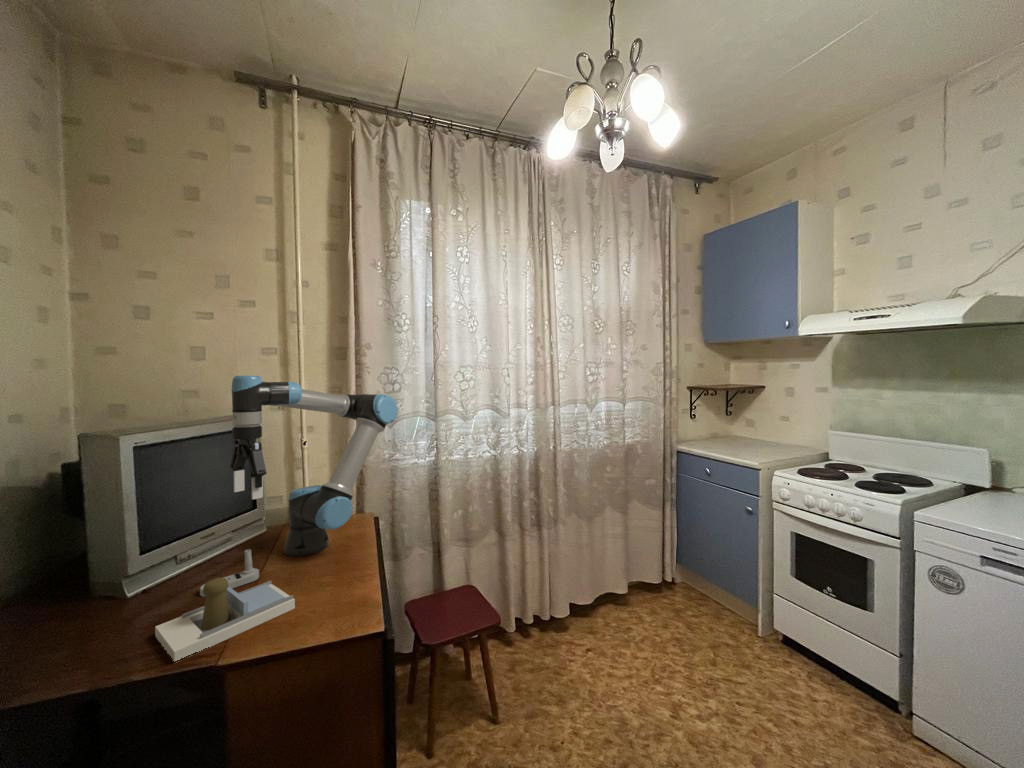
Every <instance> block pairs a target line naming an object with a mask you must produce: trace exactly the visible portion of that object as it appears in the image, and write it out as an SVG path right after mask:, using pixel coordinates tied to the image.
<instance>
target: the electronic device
mask: <svg viewBox="0 0 1024 768" xmlns="http://www.w3.org/2000/svg"><path fill="white" fill-rule="evenodd" d="M223 578H225V579H227V581H228V587H231V588H232V589H233V590H234V589H235V588H236V589H237V588H239V587H242V586H244V585H247V584H249V583H253V582H255V581H257V580H259V578H260V570H259V569H258V568H255V567H253V559H252V549H251V548H250V549H245V550H244V570H243V571H239V572H236V573H233V574H231V575H228V576H227V575H226V576H224V577H223ZM205 584H206V583H204V584H202V585H201V586H200V587H199V595H200V596H201V597H203V598H204V597H205V598H206V596H205V595H204V593H203V588H204V586H205Z"/></svg>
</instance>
